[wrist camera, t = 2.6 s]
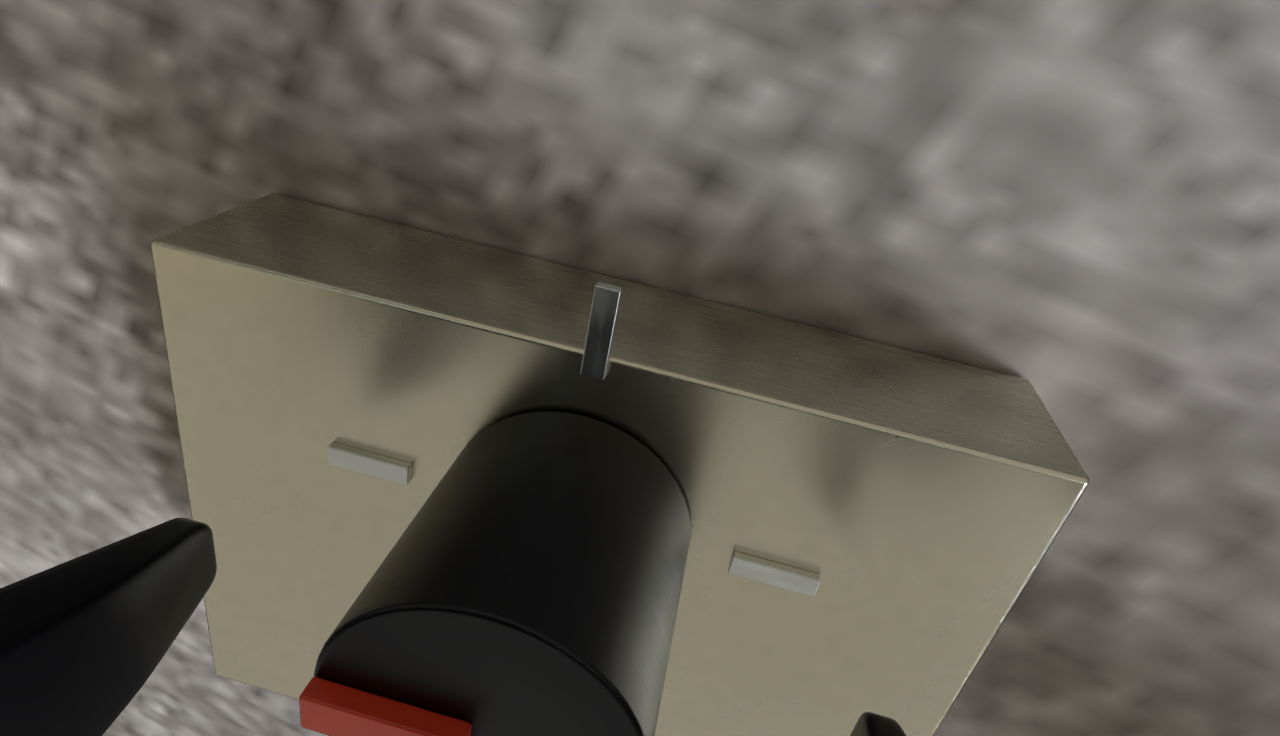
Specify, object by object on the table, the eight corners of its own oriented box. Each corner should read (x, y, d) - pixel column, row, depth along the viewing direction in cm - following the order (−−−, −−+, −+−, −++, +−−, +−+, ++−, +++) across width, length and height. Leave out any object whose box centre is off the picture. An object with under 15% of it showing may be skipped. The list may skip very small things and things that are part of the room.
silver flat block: (1059, 321, 12) (1141, 420, 9) (844, 735, 17) (854, 876, 15) (268, 130, 13) (127, 169, 10) (295, 577, 18) (208, 682, 16)
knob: (717, 448, 11) (677, 698, 7) (663, 634, 13) (610, 907, 9) (459, 381, 11) (286, 584, 7) (444, 572, 13) (302, 811, 9)
